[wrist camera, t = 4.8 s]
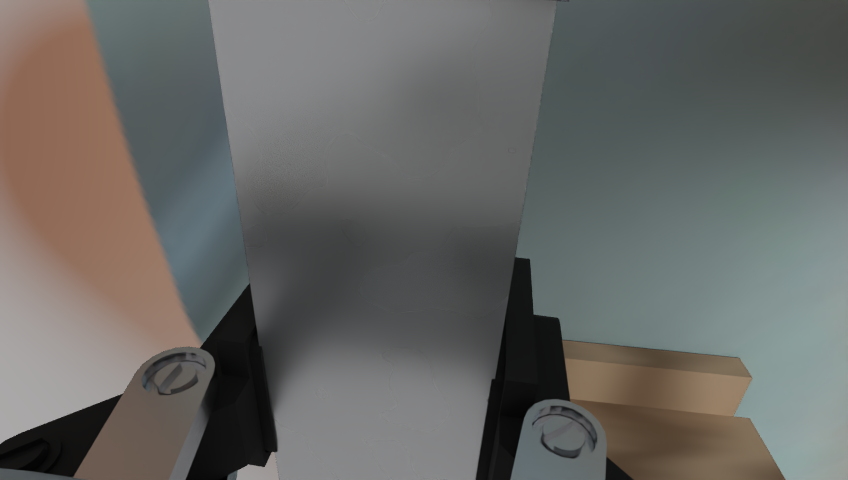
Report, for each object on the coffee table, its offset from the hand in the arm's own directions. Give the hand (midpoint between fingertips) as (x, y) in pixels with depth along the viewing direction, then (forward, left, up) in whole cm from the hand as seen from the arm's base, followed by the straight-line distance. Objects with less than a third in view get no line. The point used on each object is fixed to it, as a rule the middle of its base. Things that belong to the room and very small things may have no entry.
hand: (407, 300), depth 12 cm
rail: (0, 0, 0) cm, 0 cm away
